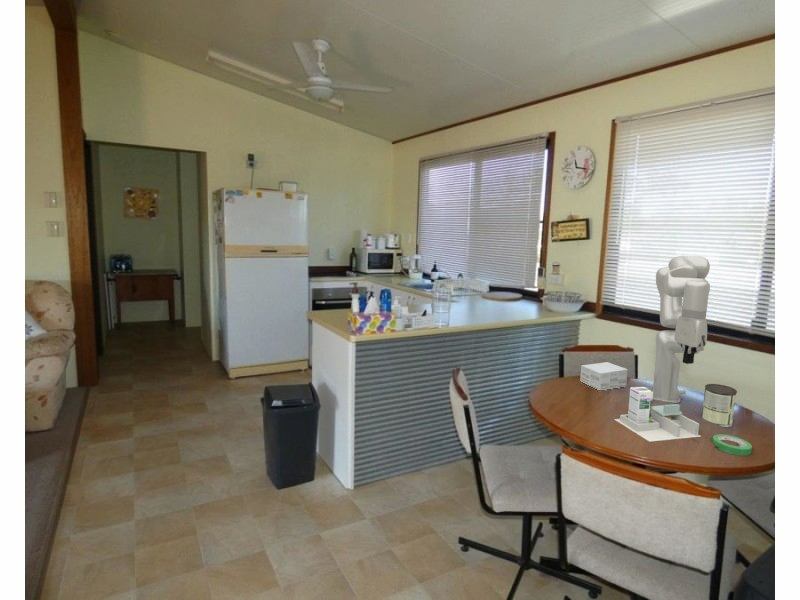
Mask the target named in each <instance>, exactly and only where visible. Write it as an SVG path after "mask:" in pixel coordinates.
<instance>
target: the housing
mask: <svg viewBox="0 0 800 600" xmlns="http://www.w3.org/2000/svg"><path fill="white" fill-rule="evenodd" d="M670 416H671V417H672V418H671V420H670V419H668V418H666V417H664V416H662V415H660V414H658V413H656V412H654V411H652V412H651V423H643V424H637V423H636V422H634V421H632V420H631V419H629V418H628V413H626V414H620V415H619V418H613V419H614V421H616V422H617V423H619V424H620V425H622V426H624V427H626V428H627V429H629V430H630V431H632V432H633V433H635V434H636V435H638V436H639V437H641V438H643V439H644V440H646V441H647V442H657V441H658V442H659V441H669V440H679V439H689V438H700V437H702V435H700V434H699V429H700V423H699V422H697V421H695V420H693V419H690V418H688V417H687V416H685V415H684V414H680V415H670Z"/></svg>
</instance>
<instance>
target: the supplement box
mask: <svg viewBox="0 0 800 600" xmlns="http://www.w3.org/2000/svg"><path fill="white" fill-rule="evenodd" d="M579 378H580V379H579V380H580V381H581V382H583V383H585V384H587V385H589V386H591V387H593V388H595V389H597V390H605V391H608V390H607V389H611V390H614V389H613V388H618V389H621V388H620V387H624V388H627V384H628V383H627V381H628V369H627V368H625V367H622V366H619V365H616V364H613V363H611V362H609V361H606V362H605V361H604V362H599V363H592V364H591V363H590V364H582V365H581V366H580V377H579ZM580 381H579V382H580ZM589 386H588V387H589ZM591 387H590V388H591ZM593 388H592V389H593ZM595 389H594V390H595ZM597 390H596V391H597Z"/></svg>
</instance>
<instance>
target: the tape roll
mask: <svg viewBox="0 0 800 600" xmlns="http://www.w3.org/2000/svg"><path fill="white" fill-rule="evenodd" d="M711 440H712V443H713V444H714V445H715V448H716V449H718V450H720V451H722V452H724V453H727V454H730V455H737V456H750V455H751V454H752V449H753V448H752V447H753V445H752V444H751V443H750V442H749V441H747V440H745V439H743V438H740V437H737V436H734V435H730V434H724V433H723V434H722V433H721V434H720V433H718V434H714V435H713V436H712V439H711ZM723 441H732V442H735V443H737V444H735V445H731V444H729V443H726V442H723Z"/></svg>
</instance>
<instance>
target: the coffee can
mask: <svg viewBox="0 0 800 600" xmlns="http://www.w3.org/2000/svg"><path fill="white" fill-rule="evenodd" d="M737 394H738V391H737V389H736V388H733V387H731V386H728V385H725V384H718V383H707V384H705V385H704V396H703V403H702V412H701V413H702V414H701V418H702V419H703V420H705V421H707V422H710V423H713V424H716V425H717V426H719V427H721V428H730V427H732V426H733V423H734V422H733V421H734V420H733V419H734V415H735V414H734V413H735V412H734V411H735V407H736V406H735V404H736V398H737Z"/></svg>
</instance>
